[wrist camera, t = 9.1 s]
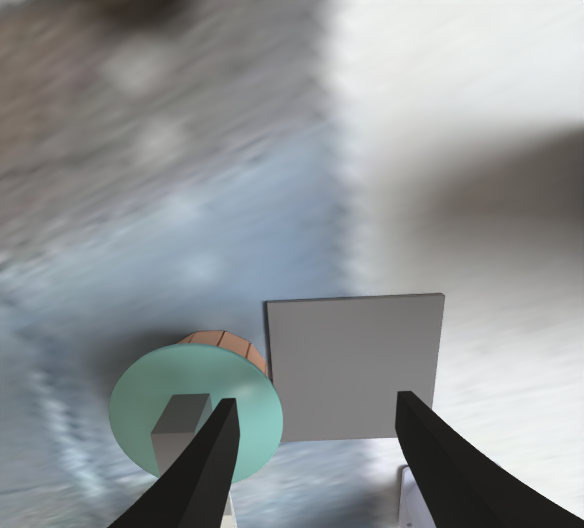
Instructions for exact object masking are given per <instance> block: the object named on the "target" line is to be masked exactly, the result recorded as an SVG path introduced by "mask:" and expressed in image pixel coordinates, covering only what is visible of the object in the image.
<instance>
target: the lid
mask: <svg viewBox="0 0 584 528" xmlns="http://www.w3.org/2000/svg"><path fill="white" fill-rule="evenodd" d="M222 398H236V402H237V410H238V418H239V426H240V441H239V449H238V455H237V461H236V466H235V470H234V474H233V478H232V482H231V484H232V483H235V482H238V481H241V480H243V479H245V478H247V477H249V476H251V475H253V474H254V473H256V472H257V471H258V470H260V469H261V468H262V467H263V466H264V465H265V464H266V463H267V462H268V461H269V460H270V459H271V457H272V456H273V455H274V453H275V451H276V450H277V448H278V445H279V443H280V440H281V436H282V430H283V410H282V404H281V401H280V398H279V395H278V393H277V391H276V389H275V387H274V385H273V384H272V382H271V381H270V379H269V378H268V377H267V376H266V375H265V373H264V372H263V371H262V370H261V369H259V368H258V367H257V366H256V365H255V364H254V363H252V362H251V361H249V360H248V359H246V358H245V357H243V356H241V355H239V354H237V353H235V352H233V351H230V350H228V349H225V348H222V347H218V346H214V345H209V344H202V343H181V344H173V345H169V346H164V347H161V348H159V349H156V350H153V351H151V352H149V353H147V354H146V355H144V356H142V357H141V358H140V359H138V360H137V361H135V362H134V363H133V364H132V365H131V366H130V367H129V368H128V369H127V370H126V371H125V373H124V374H123V375H122V376H121V378H120V379H119V380H118V382H117V383H116V385H115V387H114V389H113V391H112V395H111V398H110V403H109V420H110V425H111V429H112V432H113V434H114V437H115V439H116V440H117V442H118V444H119V446H120V447H121V448H122V450H123V451H124V452H125V454H126V455H127V456H128V457H129V458H130V459H131V460H132V461H133V462H135V463H136V464H137V465H138V466H139V467H141V468H142V469H144V470H145V471H147V472H148V473H150V474H152V475H154V476H156V477H158V478H160V477H161V476H162V475H163V474H164V473H165V472H166V471H167V469H168V468H169V467H170V466H171V465H172V464H173V463H174V461H175V460H176V459H177V458H178V457H179V455H180V454H181V453H182V452H183V451H184V449H185V448H186V447H187V446H188V445H189V443H190V442H191V441H192V439H193V438H194V437H195V435H196V434H197V433H198V431H199V430H200V429H201V427H202V426H203V425H204V423H205V422H206V421H207V419H208V418H209V416H210V415H211V413H212V412H213V411H214V409H215V408H216V406H217V405H218V403H219V402H220V400H221V399H222Z"/></svg>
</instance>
